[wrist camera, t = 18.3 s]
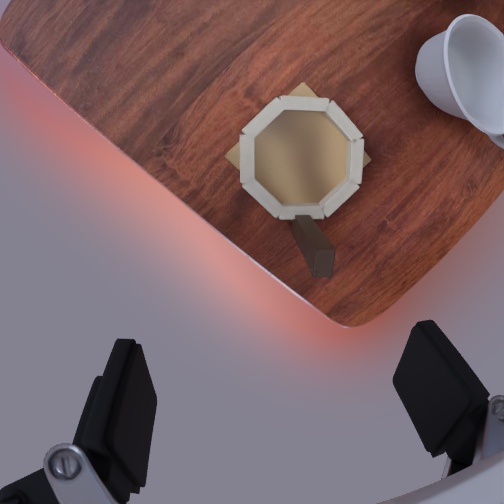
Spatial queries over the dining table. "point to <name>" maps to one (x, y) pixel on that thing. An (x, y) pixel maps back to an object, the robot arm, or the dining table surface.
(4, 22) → the dining table surface
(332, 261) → the ring
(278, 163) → the cork pad
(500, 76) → the teacup
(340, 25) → the dining table surface
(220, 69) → the dining table surface
